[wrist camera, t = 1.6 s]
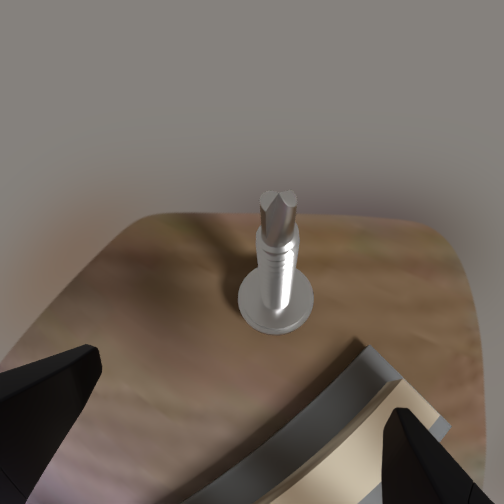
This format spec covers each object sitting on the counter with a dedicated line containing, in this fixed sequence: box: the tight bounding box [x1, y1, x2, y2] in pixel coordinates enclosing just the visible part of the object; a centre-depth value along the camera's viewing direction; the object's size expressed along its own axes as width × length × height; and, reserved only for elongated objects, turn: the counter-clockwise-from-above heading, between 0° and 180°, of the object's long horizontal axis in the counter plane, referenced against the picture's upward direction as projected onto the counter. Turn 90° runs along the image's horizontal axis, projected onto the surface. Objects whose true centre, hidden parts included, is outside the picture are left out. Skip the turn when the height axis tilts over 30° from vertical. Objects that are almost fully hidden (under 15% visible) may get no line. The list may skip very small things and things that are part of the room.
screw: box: [238, 190, 314, 336], centre depth 17 cm, size 13×5×5 cm
